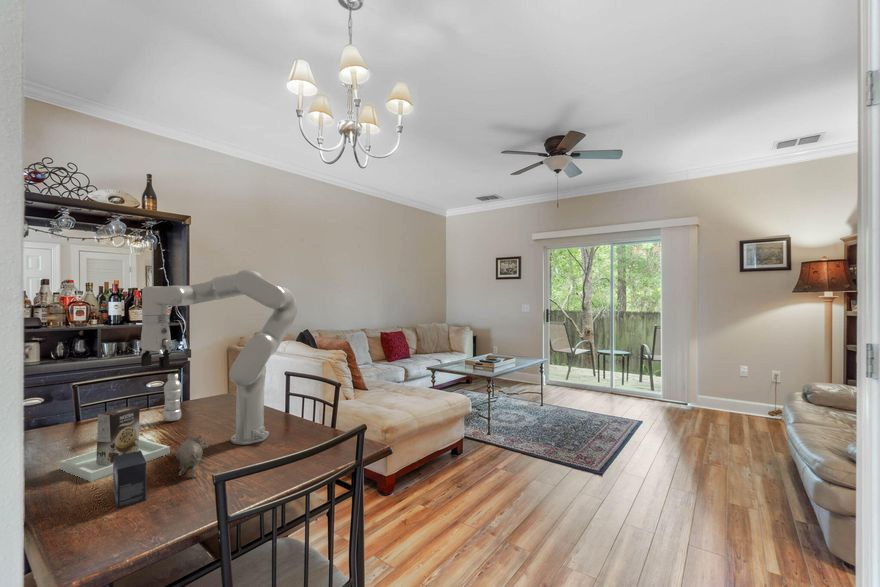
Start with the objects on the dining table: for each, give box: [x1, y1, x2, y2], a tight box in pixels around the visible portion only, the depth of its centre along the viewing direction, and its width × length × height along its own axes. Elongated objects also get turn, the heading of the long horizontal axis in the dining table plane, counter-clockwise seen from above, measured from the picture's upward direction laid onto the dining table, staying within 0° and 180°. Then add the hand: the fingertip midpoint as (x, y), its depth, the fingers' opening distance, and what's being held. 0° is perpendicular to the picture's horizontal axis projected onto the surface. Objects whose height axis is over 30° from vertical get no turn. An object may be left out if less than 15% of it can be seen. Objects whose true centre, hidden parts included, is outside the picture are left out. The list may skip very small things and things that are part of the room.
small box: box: [112, 450, 147, 509], centre depth 106 cm, size 11×6×10 cm, turn 45°
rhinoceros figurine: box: [175, 434, 212, 478], centre depth 122 cm, size 8×14×15 cm
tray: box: [58, 437, 171, 483], centre depth 127 cm, size 18×22×3 cm
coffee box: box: [96, 406, 141, 466], centre depth 127 cm, size 9×6×16 cm
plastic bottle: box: [162, 373, 183, 422], centre depth 168 cm, size 6×7×20 cm
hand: (155, 366), depth 142 cm, fingers open, 9 cm apart
